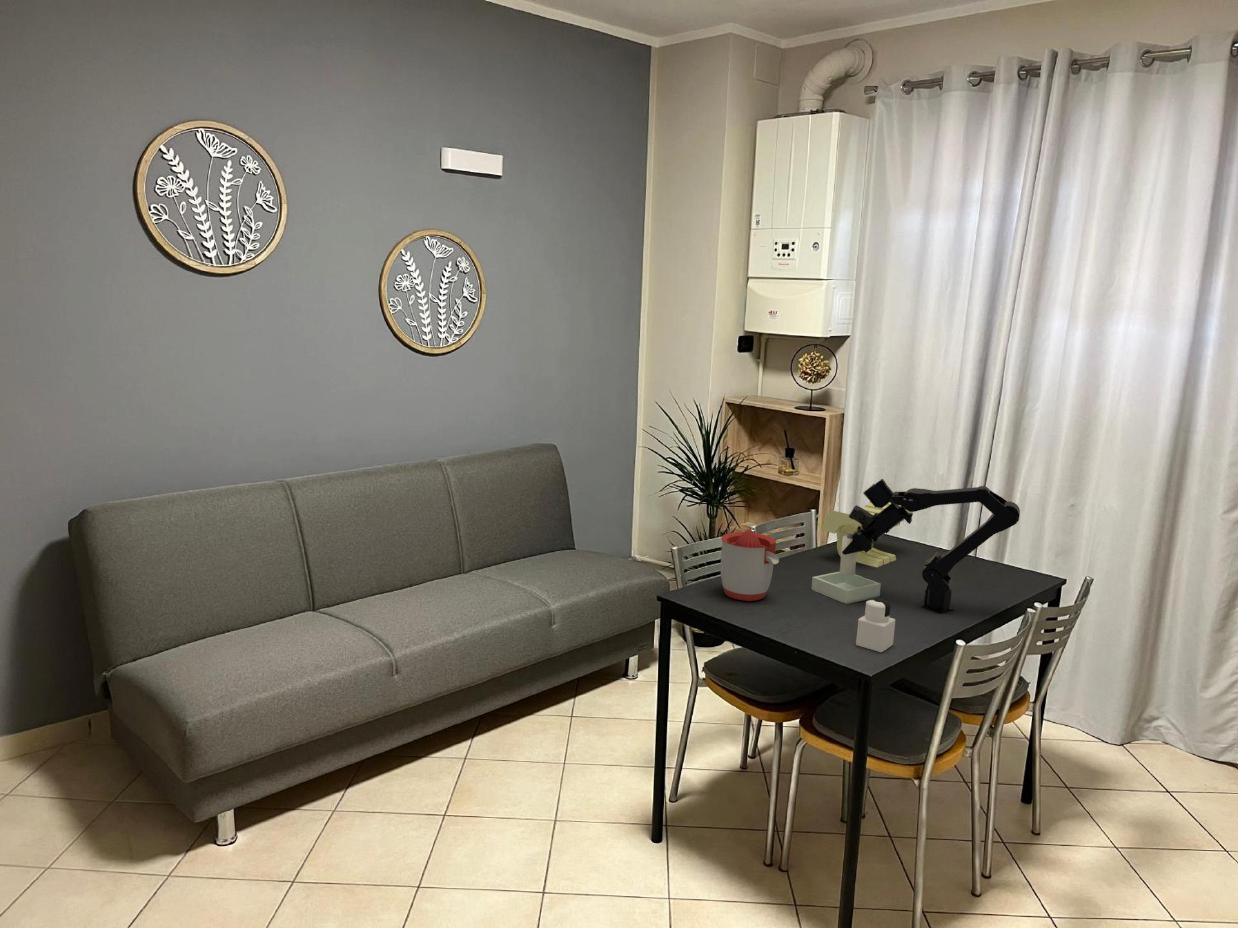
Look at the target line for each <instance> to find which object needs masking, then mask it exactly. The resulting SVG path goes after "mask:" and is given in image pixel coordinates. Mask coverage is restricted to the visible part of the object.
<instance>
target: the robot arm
mask: <svg viewBox="0 0 1238 928" xmlns="http://www.w3.org/2000/svg"><path fill="white" fill-rule="evenodd" d="M862 494H863V495H864V496H865V497H866V499H868V500H869V502H871V503H872V504H873V505H874V507H875V508H876V507H878V508H883V507H884V506H885V505H887V504H888V503H889V502H890V503H891V504H890V505H889V506H887V507H886V508H885V509H884V510H882V511H881V512H880V513H875V514H874V515H872V514H870V513H869V512H868V511H866V510H864V509H863V508H864V507H861V506H860V505H855V506H854V507H853V508H852V510H851V511H850V513H849V514H850V515H849V518H851V519H854V520H855V521H857V522H859V523H861V525H862V526H861V527H860V526H858V528H857V531H856V532H854V533H853V535H852V537H853V540H852V541H851V542H850V544H849V545H848V546H847V547H846V548H845V549H844V550H843V551H842V553H843V554H844V555H846V554H851V553H855V552H860V551H865V552H866V553H867V552H868V551H869V550H871V549H872V547H873V548H874V543H876V542H878V540H879V539H880V538H881V537H882V536H884V535H885V534H888V533H889V532H890V531H891V530H892V529H893V528H895V527H897V526H896V525H897V524H899V523H900V524H901V521H902V522H904V521H905V522H907V524H909V525H911V523H912V521H913V515H914V512H919V511H922V510H926V509H930V508H933V507H936V506H944V505H947V506H948V505H958V504H969V503H971V504H972V503H980V504H981V505H982V506H984V507H985V508H986V509H987V510H988V511H989V512H990V513H991V515H990V516H989V517H988V518H987V519H986V521H985V522H983V524H981V525H980V526H979V527H977V528H976V529H974V531H972V532H971V533H970V534H969V535H967V536H966V537H965V538H964V539H962V540H961V541H960V542H958V543H957V544H956V545H955V546H953V547H952V548H951V549H949V550H948V551H947V552H945V553H942V554H940V552H939V551H936V552H935V554H933V556H931V557H929V558H927V559H926V561H925V563H924V567H923V568H922V571H921V577H922V578H923V580H924V582H925V583H926V584H927V585H926V589H924V601H923V603H922V604H921V606H920V607H922V608H925V609H927V610H929V611H932V612H934V613H938V614H941V613H942V614H943V613H946V612H950V611H953V610H954V607H952V606H951V604H952V602H951V601H952V593H953V592H952V591H953V590H952V589H951V588H950V587H951V584H952V581H953V578H952V577H951V575H949V573H950V572H951V570H952V569H953V568H954V567H955V566H956V565H957V564H958V563H959V562H961V561H962V560H963V559H965V558H966V557H967V556H968V555H970V554H971V553H972V552H973V551H975V550H976V549H978V548H979V547H981V545H983V544H984V543H985V542H986V541H988V540H989V539H990V538H991V537H993V536H994V535H997V534H998V533H1001V532H1004V531H1005V530H1008V529H1009V528H1011V527H1013V526H1015V525H1017V523H1019V521H1020V516H1021V515H1020V514H1021V510H1020V507H1019V505H1018V504H1017V503H1015V502H1013V501H1008V500H1006V499H1005V498H1004V497H1003V496H1000V495H999V494H997V493H996V492H993V491H992V490H991V489H990V488H988V487H987V486H985V485H980V486H978V487H977V486H976V487H964V488H953V489H942V490H933V489H928V488H918V487H917V488H916V487H913V488H909V489H908V490H906V491H893V490H892V489H891V488H890V487H889V485H887V483H886V481H885V479H883V478H881V479H880V480H879V481H877V482H875V483H873V484H872V485H870V486H869V487H868V488H867V489H865V490H864V491H863V492H862ZM899 505H900V506H899ZM906 510H907V511H909V512H913V513H909V512H907V511H906ZM903 520H904V521H903Z"/></svg>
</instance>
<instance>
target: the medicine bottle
mask: <svg viewBox="0 0 1238 928" xmlns="http://www.w3.org/2000/svg"><path fill="white" fill-rule="evenodd" d="M865 601H866V602H865V610H864V615H862V616H861V617H860V618H858V619H857V625H856V627H857V629H856V638H855V639H856V640H855V645H856V646H858V647H861V648H865V649H868V650H871V651H874V652H878V653H882V652H884V651H886V650H887V649H889V648H890V647H892V646H893V645H894V638H895V628H896V619H895V618H892V617H890V615H891V609H892V608H891V606H892V604H891V603H890V601H888V600H886V599H883V598H879V597H875V598H871V599H867V600H865Z"/></svg>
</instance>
